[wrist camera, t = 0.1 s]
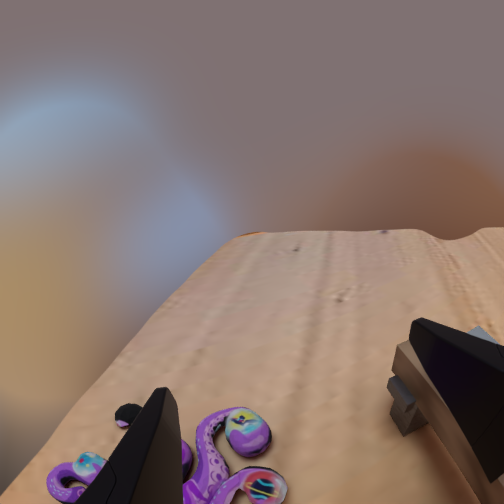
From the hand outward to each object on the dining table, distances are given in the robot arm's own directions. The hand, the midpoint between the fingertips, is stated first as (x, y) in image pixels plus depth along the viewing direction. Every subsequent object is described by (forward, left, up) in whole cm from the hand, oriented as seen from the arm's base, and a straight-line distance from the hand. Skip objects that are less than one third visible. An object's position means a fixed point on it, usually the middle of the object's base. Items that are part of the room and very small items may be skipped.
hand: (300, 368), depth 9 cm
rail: (-6, -11, -12) cm, 17 cm away
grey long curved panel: (-6, -22, -17) cm, 28 cm away
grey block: (+4, -11, -17) cm, 20 cm away
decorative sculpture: (+5, +12, -17) cm, 21 cm away
